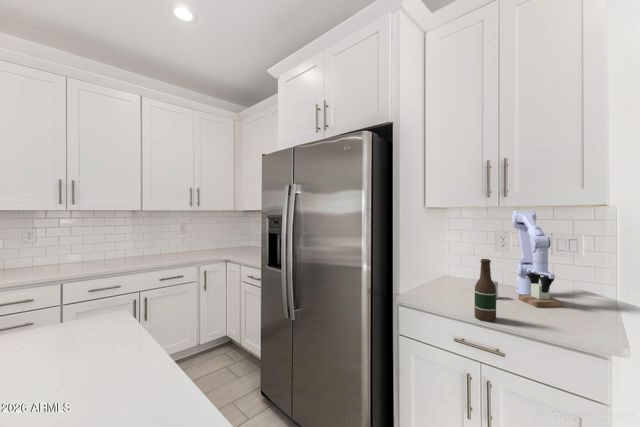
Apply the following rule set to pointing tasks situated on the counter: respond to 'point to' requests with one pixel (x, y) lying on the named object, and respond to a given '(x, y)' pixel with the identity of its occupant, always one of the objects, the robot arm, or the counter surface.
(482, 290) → the beer bottle
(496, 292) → the medicine box
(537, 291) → the sage block
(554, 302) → the walnut block
